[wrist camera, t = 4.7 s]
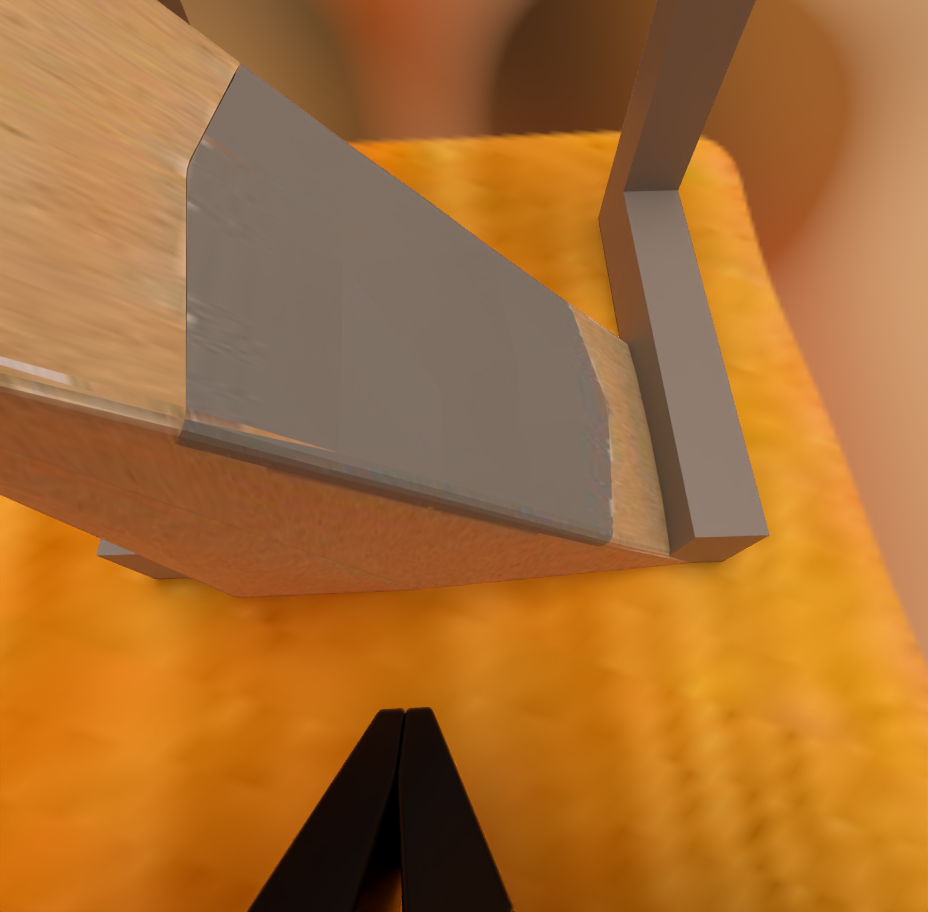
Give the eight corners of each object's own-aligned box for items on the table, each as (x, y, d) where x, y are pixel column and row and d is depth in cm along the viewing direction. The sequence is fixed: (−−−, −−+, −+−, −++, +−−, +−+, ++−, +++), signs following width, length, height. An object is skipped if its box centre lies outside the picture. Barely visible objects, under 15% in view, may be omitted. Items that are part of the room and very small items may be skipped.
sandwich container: (707, 572, 18) (1496, 136, 4) (230, 608, 17) (-627, 256, 4) (650, 352, 21) (975, -273, 8) (253, 378, 21) (-145, -232, 7)
